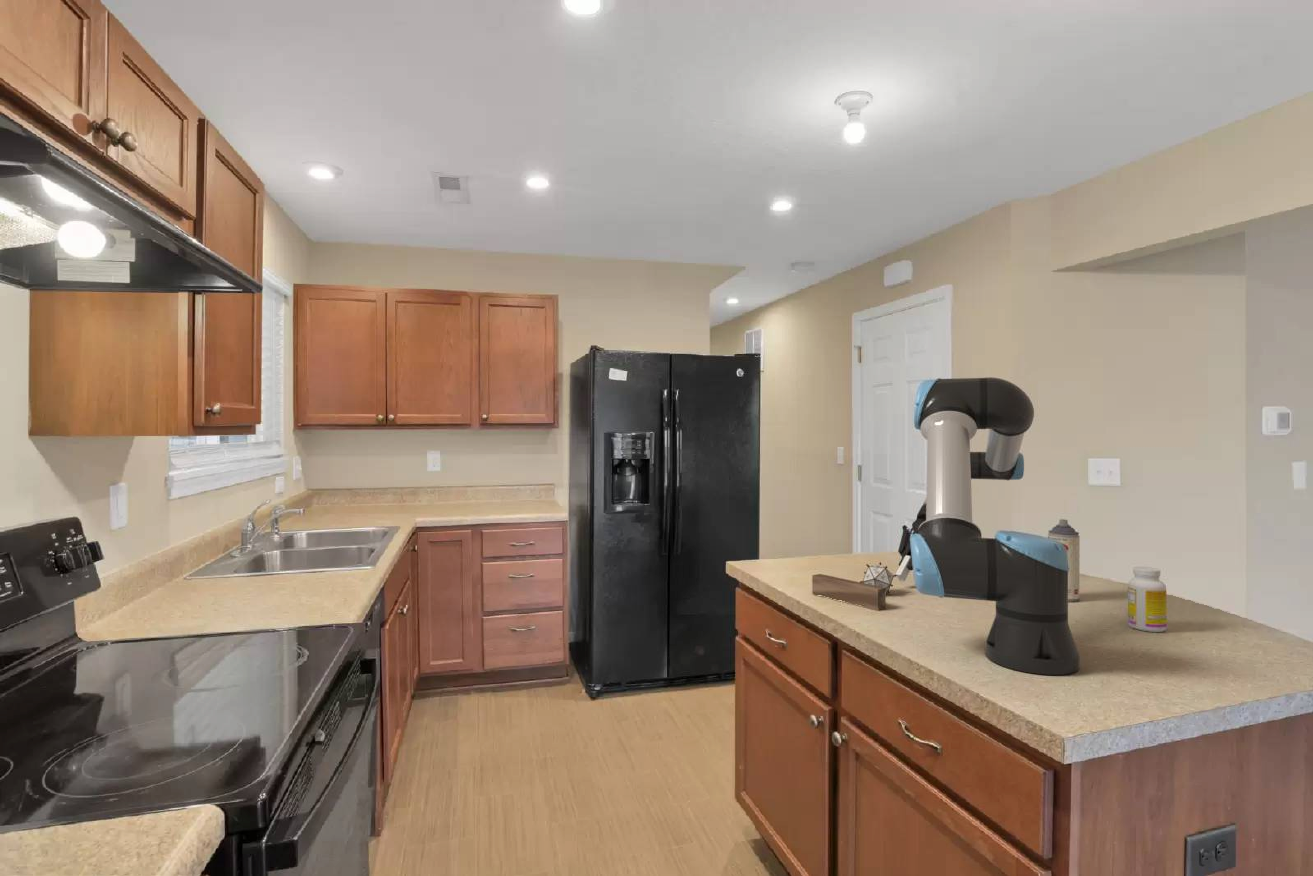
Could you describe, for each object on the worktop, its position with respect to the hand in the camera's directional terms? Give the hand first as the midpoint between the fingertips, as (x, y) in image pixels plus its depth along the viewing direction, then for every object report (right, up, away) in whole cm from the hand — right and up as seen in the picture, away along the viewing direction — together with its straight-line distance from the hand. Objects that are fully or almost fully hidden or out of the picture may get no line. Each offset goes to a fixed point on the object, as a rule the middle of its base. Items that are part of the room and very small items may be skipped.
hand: (900, 577), depth 180 cm
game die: (-8, -3, -6) cm, 10 cm away
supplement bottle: (+39, -3, -37) cm, 54 cm away
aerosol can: (+37, -3, -11) cm, 39 cm away
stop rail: (-18, -3, -13) cm, 22 cm away
